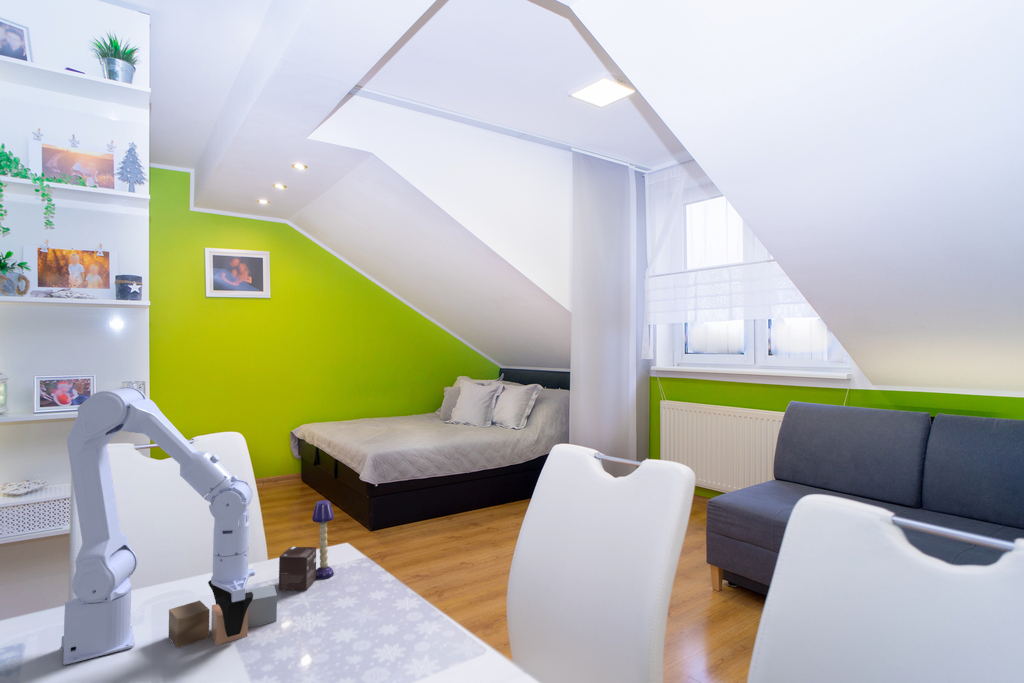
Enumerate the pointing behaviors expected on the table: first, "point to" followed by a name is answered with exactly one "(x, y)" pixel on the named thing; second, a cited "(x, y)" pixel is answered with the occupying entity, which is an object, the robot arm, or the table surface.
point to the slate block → (262, 606)
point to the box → (297, 568)
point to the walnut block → (188, 623)
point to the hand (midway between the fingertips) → (229, 626)
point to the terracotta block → (219, 627)
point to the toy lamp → (323, 536)
